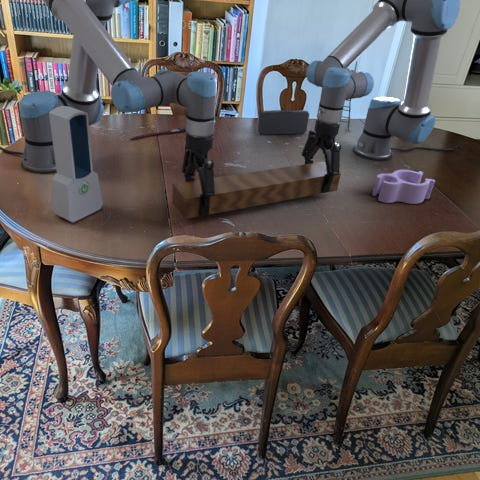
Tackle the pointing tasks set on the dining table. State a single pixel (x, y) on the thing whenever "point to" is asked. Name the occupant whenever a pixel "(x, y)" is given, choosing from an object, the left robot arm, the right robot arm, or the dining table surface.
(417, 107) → the right robot arm
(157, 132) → the sword
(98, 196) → the electronic device
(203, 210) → the left robot arm
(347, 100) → the miniature windmill
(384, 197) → the clip
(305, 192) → the slab
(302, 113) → the handheld gaming console
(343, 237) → the dining table surface
